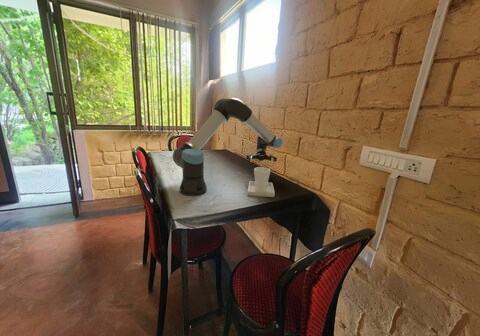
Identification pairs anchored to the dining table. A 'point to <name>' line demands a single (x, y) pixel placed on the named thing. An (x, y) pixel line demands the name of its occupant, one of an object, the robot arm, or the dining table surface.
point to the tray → (253, 192)
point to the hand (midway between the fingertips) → (261, 160)
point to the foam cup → (261, 178)
